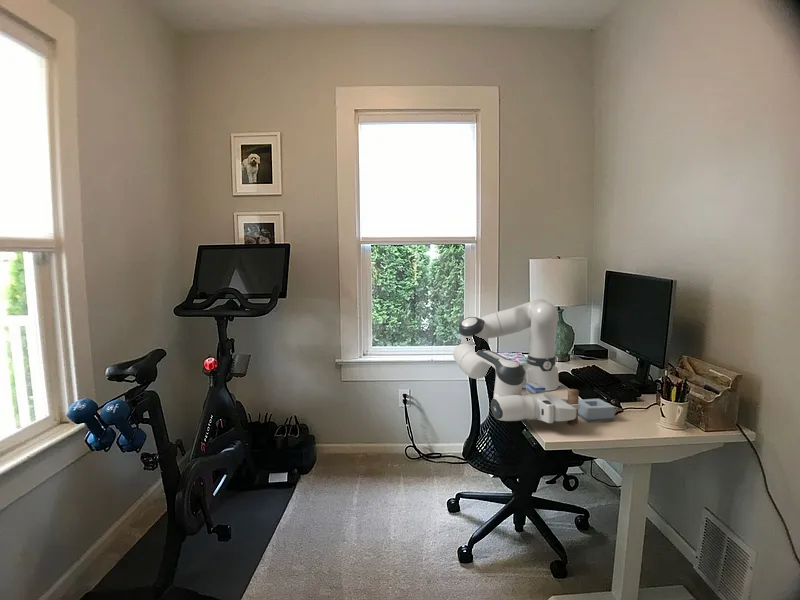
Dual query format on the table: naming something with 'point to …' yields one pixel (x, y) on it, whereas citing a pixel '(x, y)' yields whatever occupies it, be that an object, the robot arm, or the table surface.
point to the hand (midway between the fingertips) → (575, 403)
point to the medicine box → (534, 388)
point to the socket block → (595, 410)
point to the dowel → (572, 398)
